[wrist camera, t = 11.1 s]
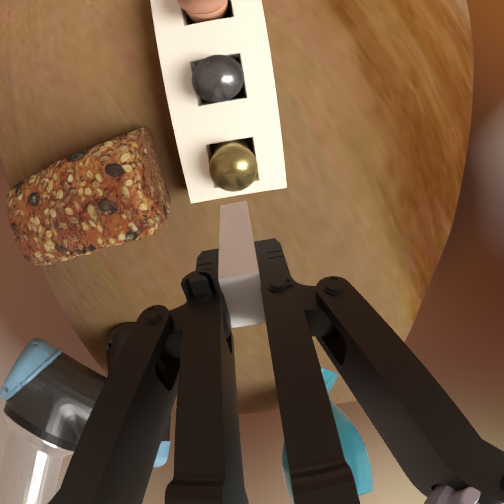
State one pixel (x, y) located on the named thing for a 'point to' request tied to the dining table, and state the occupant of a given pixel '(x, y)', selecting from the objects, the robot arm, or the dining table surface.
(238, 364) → the dining table surface
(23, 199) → the bread
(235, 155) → the brass plug
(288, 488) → the vase
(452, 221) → the dining table surface
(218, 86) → the grey plug
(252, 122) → the slab
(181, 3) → the terracotta plug
